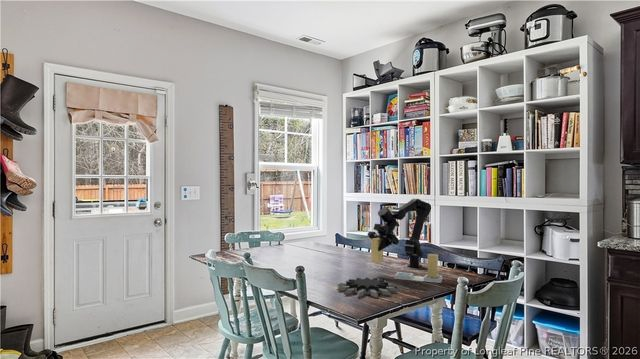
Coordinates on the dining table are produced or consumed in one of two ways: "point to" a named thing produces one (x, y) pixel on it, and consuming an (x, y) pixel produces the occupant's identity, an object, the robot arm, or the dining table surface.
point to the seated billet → (433, 266)
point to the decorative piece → (367, 287)
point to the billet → (376, 250)
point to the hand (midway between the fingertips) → (375, 250)
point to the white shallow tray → (416, 277)
